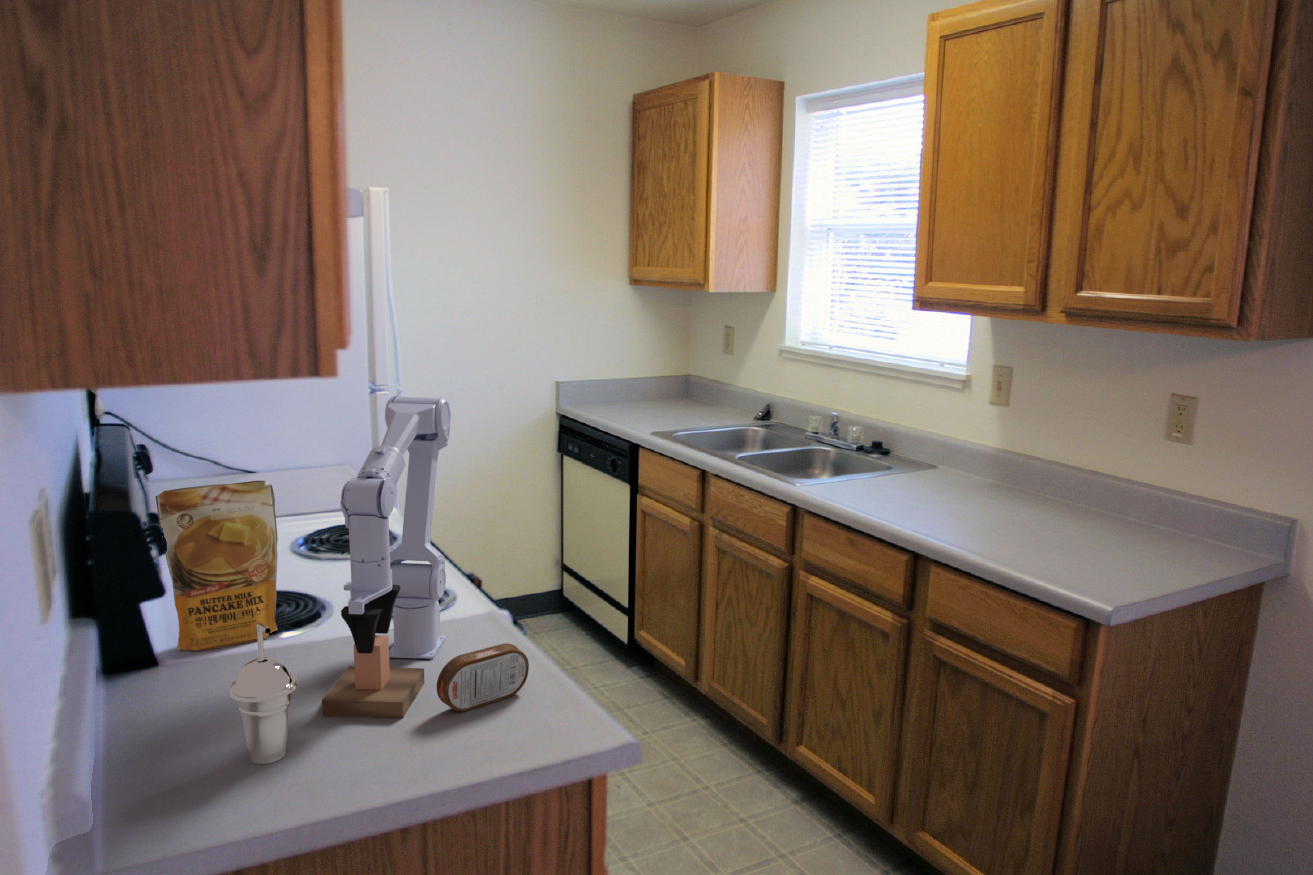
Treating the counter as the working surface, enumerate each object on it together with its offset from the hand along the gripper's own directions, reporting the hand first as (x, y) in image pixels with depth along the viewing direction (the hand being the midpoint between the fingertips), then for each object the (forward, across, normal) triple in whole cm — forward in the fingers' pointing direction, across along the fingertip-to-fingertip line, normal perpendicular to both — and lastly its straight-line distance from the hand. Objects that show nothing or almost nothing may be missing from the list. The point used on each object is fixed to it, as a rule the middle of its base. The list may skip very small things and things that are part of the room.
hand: (373, 642), depth 145 cm
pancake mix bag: (+10, -21, -33) cm, 40 cm away
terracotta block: (+7, 0, 0) cm, 7 cm away
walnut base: (+9, 0, 0) cm, 9 cm away
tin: (+10, 0, +17) cm, 19 cm away
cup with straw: (+9, +18, -9) cm, 22 cm away
